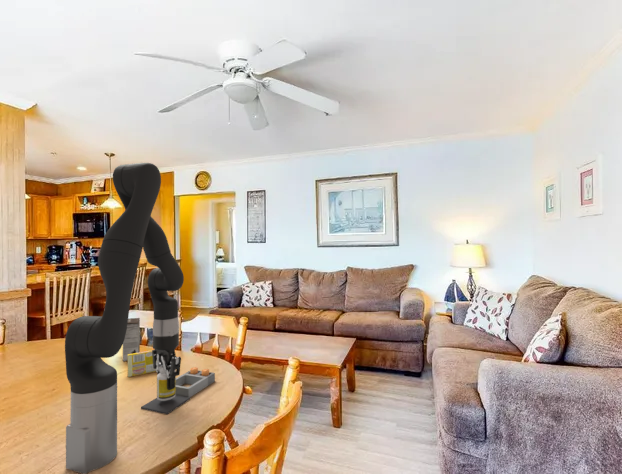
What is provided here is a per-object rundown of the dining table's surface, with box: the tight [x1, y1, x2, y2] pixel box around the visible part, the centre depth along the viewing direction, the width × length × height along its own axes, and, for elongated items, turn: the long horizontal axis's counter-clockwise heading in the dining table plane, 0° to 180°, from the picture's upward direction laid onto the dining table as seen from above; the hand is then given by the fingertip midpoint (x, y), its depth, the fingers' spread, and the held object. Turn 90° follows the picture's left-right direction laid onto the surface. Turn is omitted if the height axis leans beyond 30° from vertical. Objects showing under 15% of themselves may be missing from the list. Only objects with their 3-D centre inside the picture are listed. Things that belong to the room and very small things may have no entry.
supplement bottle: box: [156, 365, 177, 401], centre depth 107 cm, size 5×5×10 cm
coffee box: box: [122, 317, 141, 362], centre depth 149 cm, size 9×6×16 cm
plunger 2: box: [201, 368, 210, 376], centre depth 122 cm, size 3×3×3 cm
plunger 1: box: [189, 366, 199, 374], centre depth 124 cm, size 3×3×3 cm
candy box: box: [127, 349, 157, 378], centre depth 133 cm, size 16×2×8 cm, turn 123°
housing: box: [176, 369, 216, 398], centre depth 118 cm, size 14×10×3 cm
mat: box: [140, 395, 191, 415], centre depth 106 cm, size 10×10×1 cm
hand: (166, 386), depth 106 cm, fingers closed on supplement bottle, 5 cm apart
